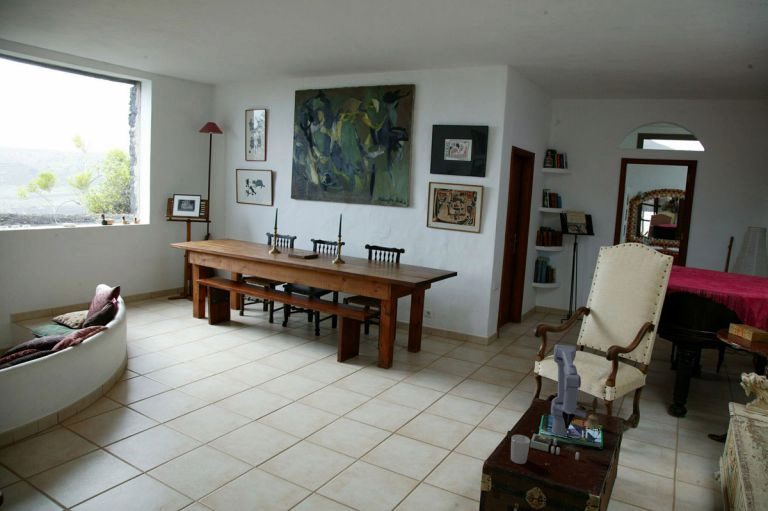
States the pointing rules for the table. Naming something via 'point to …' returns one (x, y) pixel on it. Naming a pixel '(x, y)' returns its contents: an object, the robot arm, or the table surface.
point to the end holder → (539, 445)
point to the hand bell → (593, 417)
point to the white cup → (519, 448)
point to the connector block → (542, 439)
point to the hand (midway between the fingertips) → (567, 428)
